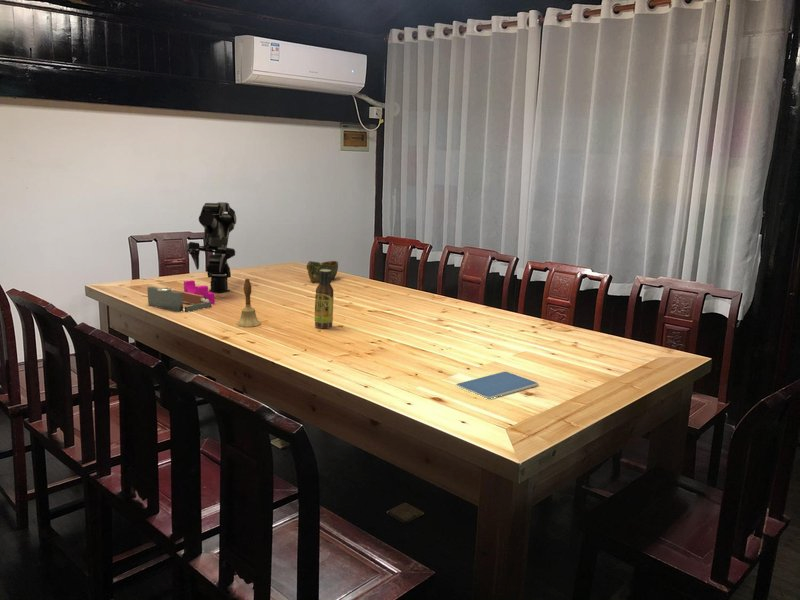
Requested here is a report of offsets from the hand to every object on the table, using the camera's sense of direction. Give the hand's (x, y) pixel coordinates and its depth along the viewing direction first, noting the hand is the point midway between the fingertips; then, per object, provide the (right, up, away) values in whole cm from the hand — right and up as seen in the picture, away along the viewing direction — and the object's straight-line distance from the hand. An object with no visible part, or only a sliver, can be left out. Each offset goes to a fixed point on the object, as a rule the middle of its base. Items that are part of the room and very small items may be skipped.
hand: (209, 271), depth 259 cm
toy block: (-4, -13, -1) cm, 13 cm away
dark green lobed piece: (+39, -3, +51) cm, 64 cm away
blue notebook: (+101, -35, -88) cm, 139 cm away
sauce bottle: (+50, -21, -34) cm, 64 cm away
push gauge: (-9, -14, -10) cm, 19 cm away
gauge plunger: (-5, -12, -7) cm, 15 cm away
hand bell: (+24, -20, -34) cm, 46 cm away
